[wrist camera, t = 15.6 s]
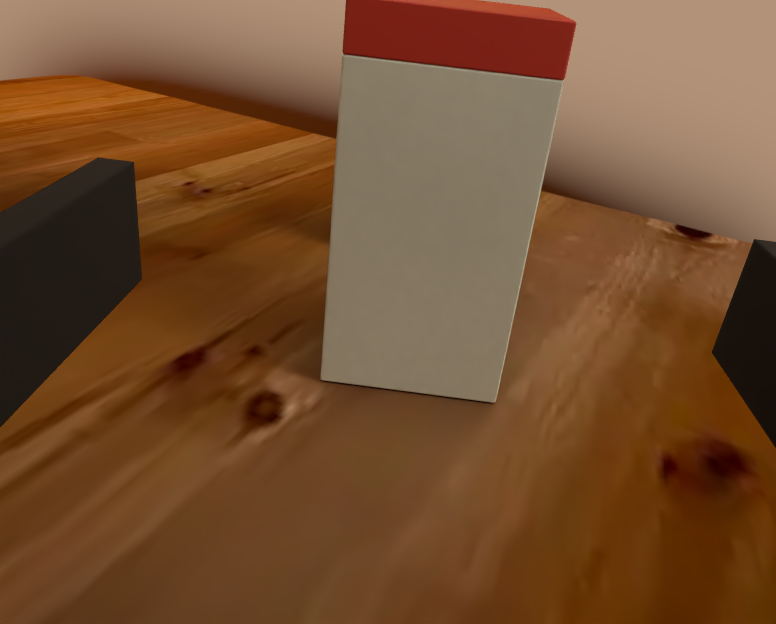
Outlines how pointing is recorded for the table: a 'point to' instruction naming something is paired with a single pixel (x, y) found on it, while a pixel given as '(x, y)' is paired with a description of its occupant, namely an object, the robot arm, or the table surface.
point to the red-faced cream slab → (437, 188)
